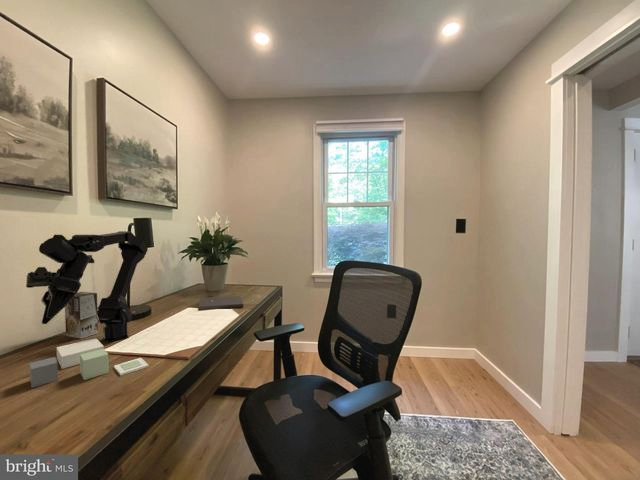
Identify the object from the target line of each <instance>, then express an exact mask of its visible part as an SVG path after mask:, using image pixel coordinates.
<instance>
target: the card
mask: <svg viewBox="0 0 640 480" xmlns="http://www.w3.org/2000/svg"><path fill="white" fill-rule="evenodd" d="M113 368H114V369H115V371H116V372H117V373H118V374H119V376H121V377H122V376H125V375H127V374H131V373H134V372H136V371H140V370H142V369H146V368H149V364H148V363H147V362H146V361H145V360H144V359H143V358H142V357H138V358H135V359H132V360H129V361H125V362H121V363H119V364H115V365H114V366H113Z"/></svg>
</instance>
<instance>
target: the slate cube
mask: <svg viewBox="0 0 640 480" xmlns="http://www.w3.org/2000/svg"><path fill="white" fill-rule="evenodd" d="M58 370H59V367H58V360H57V357H55V356H53V357H49V358H46V359H45V358H44V359H41V360H38V361H34V362H30V363H29V378H30V386H31V388H36V387H40V386H43V385H46V384H50V383H53V382H57V381H59V378H58V377H59V376H58V374H59V371H58Z"/></svg>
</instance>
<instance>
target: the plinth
mask: <svg viewBox="0 0 640 480" xmlns="http://www.w3.org/2000/svg"><path fill="white" fill-rule="evenodd" d="M104 347H105V346H104V345H103V344H102V343H101V341H100V340H98V339H97V338H96V337H95V338H92V339H91V338H90V339H87V340H82V341H78V342H74V343H70V344H65V345H61V346H57V347H56V360H57V363H58V364H59V366H60V368H61V369H62V370H64V369H67V368H70V367H73V366H74V367H75V366H77V365H80V355H81V354H85V353H88V352H92V351H96V350H100V349H105V348H104Z"/></svg>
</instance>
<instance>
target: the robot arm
mask: <svg viewBox="0 0 640 480" xmlns="http://www.w3.org/2000/svg"><path fill="white" fill-rule="evenodd" d="M116 244H117V245H118V246H117V247H118V248H119V250H120V251H121V253H120V255H121V257H122V263H121V265H120V268H119V271H118V273H117V276H116V279H115V281H114V284H113V287H112V289H111V291H110V294H109V295H108V296H107V297H102V298H101V299H100V302H99V305H98V306H97V315H98V320H99V321H98V322H99V323H100V324H101V325H104V326H103V328H102V330H103V331H102V332H103V337H102V338H103V339H104V341H106V342H107V343H111V342H115V341H121V340H123V339H124V340H125V339H128V338H129V335H128V323H130V321H132V318H133V313H132V312H130V311H129V309H128V307H129V306H128V305H129V304H128V301H127V298H126V297H127V294H128V291H129V288H130V285H131V284H132V283H131V282H132V280H133V277H134V274H135V272H136V268H137V265H138V264H139V263H140V262H141V261H142V260H144V258H145V257H146V255H147V252H148V250H149V249H148V246H147V244H146V243H145V241H143V240H142V239H141V238H140V237H138V236H136V235H134V233H133V232H131V231H123V230H122V231H120V230H119V231H117V232H110V233H102V234H73V235H72V236H71V238H70V239H67V238H66V237H65V236H64V235H62V234H54V235H53V236H52V237H50V238H48V239H46V240H45V241H44V242H42V243H41V244H40V245H39V247H38V250H39V251H38V252H39V253H40V254H42V255H44V256H45V257H47V258H49V259H50V260H52V261H54V262H55V263H58V264H61V265H60V267H59V268H57V270H56V272H55V271H54V272H52V271H48V268H46V266H38V267H36V269H35V270H34V271H30V272H28V273H27V275H26V284H25V287H26V288H29V289H31V288H35V287H37V288H38V287H47V291H45V293H44V294H43V296H42V297H41V300H40V301H41V303H42V304H43V306H44V311H43V315H42V320H41V324H42V325H47V324H48V323H50V321H52V319H54V318H55V317H56V315H58V314H59V313H60V312H61V311H62V310H63V309H65V306H66V305H67V304H68V302H69V301H70V300H71V299H72V298H73V297H74V296H75V295H76V293H77V292H80V291H79V290H80V289H81V286H82V284H81V282H80V281H81V279H82V278H83V275H84V273H85V270H86V268H87V266H88V264H95V259H94V258H93V255H92V254H86V253H96V252H99V251H101V250H104V248H105V247H106V246H111V245H116Z"/></svg>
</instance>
